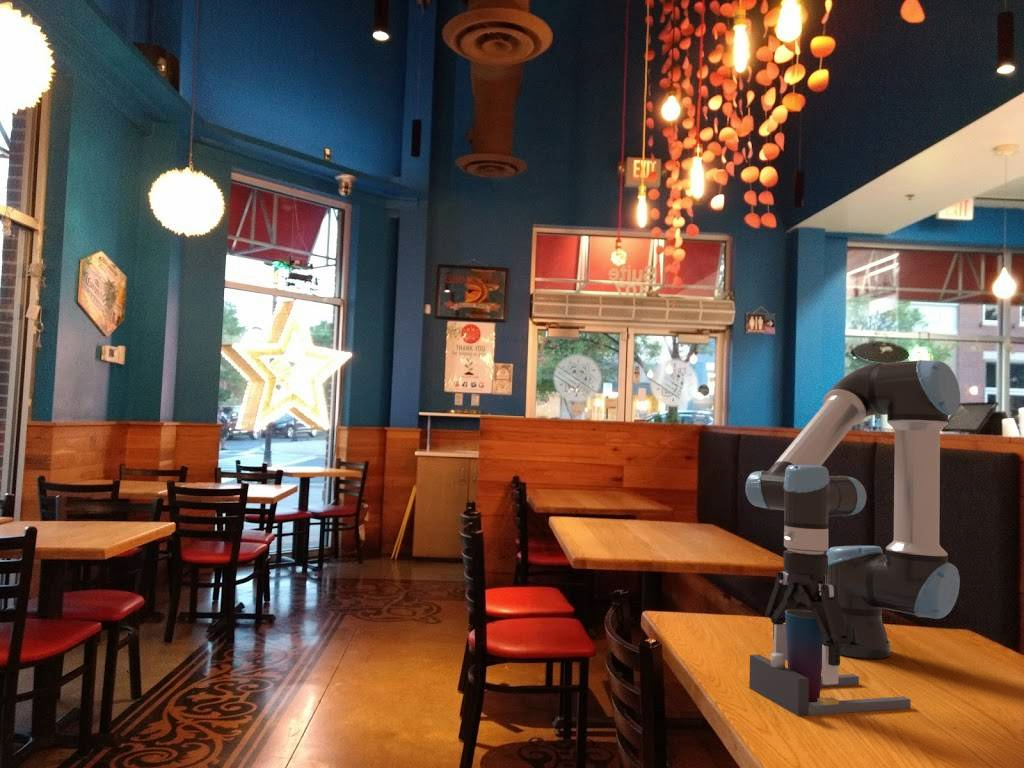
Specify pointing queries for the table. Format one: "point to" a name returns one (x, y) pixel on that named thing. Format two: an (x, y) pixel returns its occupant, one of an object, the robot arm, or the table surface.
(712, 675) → the table surface
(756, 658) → the grey u-shaped fork
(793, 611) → the cup
